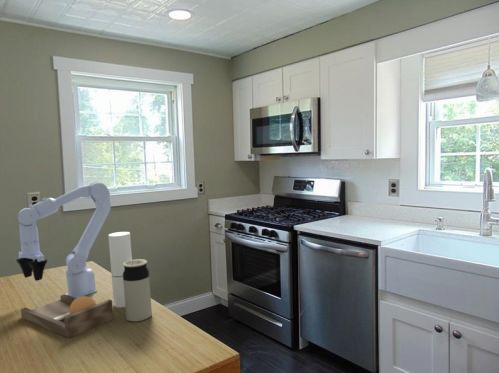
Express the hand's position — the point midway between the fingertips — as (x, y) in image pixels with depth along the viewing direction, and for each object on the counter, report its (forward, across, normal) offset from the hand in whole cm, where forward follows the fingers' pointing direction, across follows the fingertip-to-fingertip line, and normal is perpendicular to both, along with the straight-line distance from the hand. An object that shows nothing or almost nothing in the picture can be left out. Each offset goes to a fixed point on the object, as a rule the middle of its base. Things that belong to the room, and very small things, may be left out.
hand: (33, 278), depth 138 cm
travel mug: (+10, +44, +11) cm, 46 cm away
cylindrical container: (+10, +30, +16) cm, 35 cm away
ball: (+5, +32, 0) cm, 32 cm away
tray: (+9, +23, -1) cm, 25 cm away
